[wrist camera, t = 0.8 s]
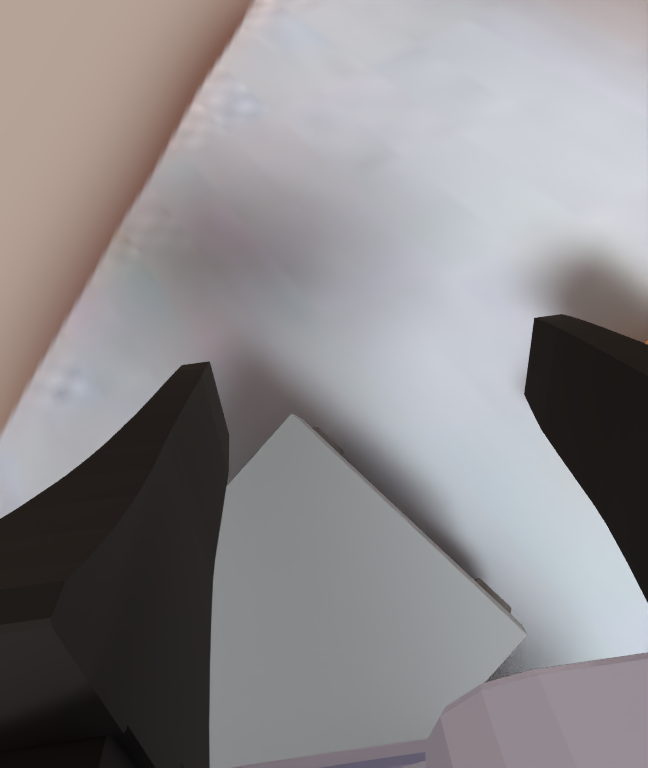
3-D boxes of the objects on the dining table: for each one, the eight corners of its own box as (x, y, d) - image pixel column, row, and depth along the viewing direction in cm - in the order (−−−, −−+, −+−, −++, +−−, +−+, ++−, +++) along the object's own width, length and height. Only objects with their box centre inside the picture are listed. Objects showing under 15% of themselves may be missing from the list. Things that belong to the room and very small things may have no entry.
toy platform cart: (508, 599, 25) (558, 694, 13) (239, 900, 25) (49, 1261, 13) (326, 430, 28) (239, 386, 17) (93, 693, 28) (-156, 831, 17)
